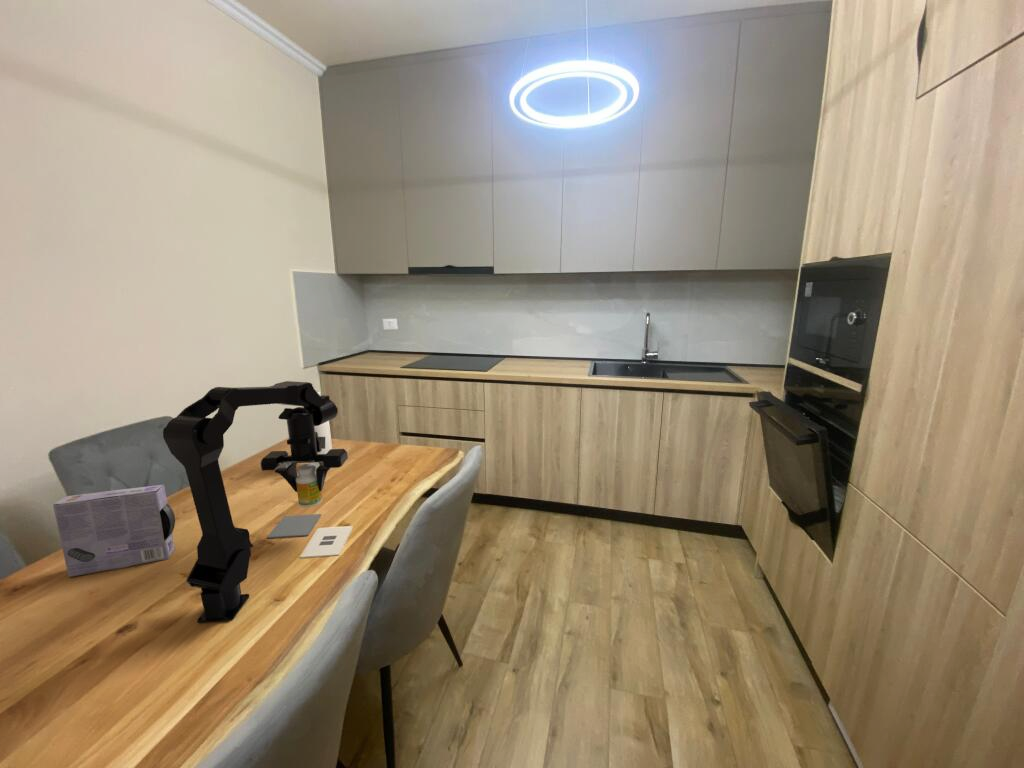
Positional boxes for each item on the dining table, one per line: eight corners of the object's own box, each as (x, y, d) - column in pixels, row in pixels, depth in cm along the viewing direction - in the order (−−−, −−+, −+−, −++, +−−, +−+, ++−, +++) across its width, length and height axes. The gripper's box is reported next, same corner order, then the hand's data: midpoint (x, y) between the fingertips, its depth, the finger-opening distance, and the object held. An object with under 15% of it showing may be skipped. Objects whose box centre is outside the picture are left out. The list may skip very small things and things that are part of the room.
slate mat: (307, 536, 104) (307, 534, 104) (266, 538, 103) (266, 537, 103) (321, 515, 114) (321, 513, 114) (284, 517, 113) (283, 516, 113)
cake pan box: (182, 546, 100) (168, 481, 96) (174, 558, 96) (159, 490, 92) (81, 565, 94) (61, 495, 90) (67, 579, 89) (46, 506, 85)
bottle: (311, 464, 147) (301, 389, 141) (335, 461, 150) (327, 388, 143) (307, 473, 140) (297, 395, 134) (332, 470, 142) (324, 393, 136)
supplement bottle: (312, 508, 100) (308, 472, 97) (294, 506, 101) (289, 470, 98) (327, 498, 105) (323, 463, 102) (309, 496, 106) (304, 461, 104)
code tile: (339, 555, 97) (339, 554, 97) (299, 558, 96) (299, 556, 96) (353, 526, 108) (353, 525, 108) (318, 529, 107) (317, 528, 107)
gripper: (351, 420, 107) (356, 475, 111) (277, 422, 105) (285, 478, 109) (337, 435, 96) (343, 495, 100) (254, 437, 95) (264, 498, 98)
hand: (309, 490), depth 102 cm, fingers closed on supplement bottle, 5 cm apart
